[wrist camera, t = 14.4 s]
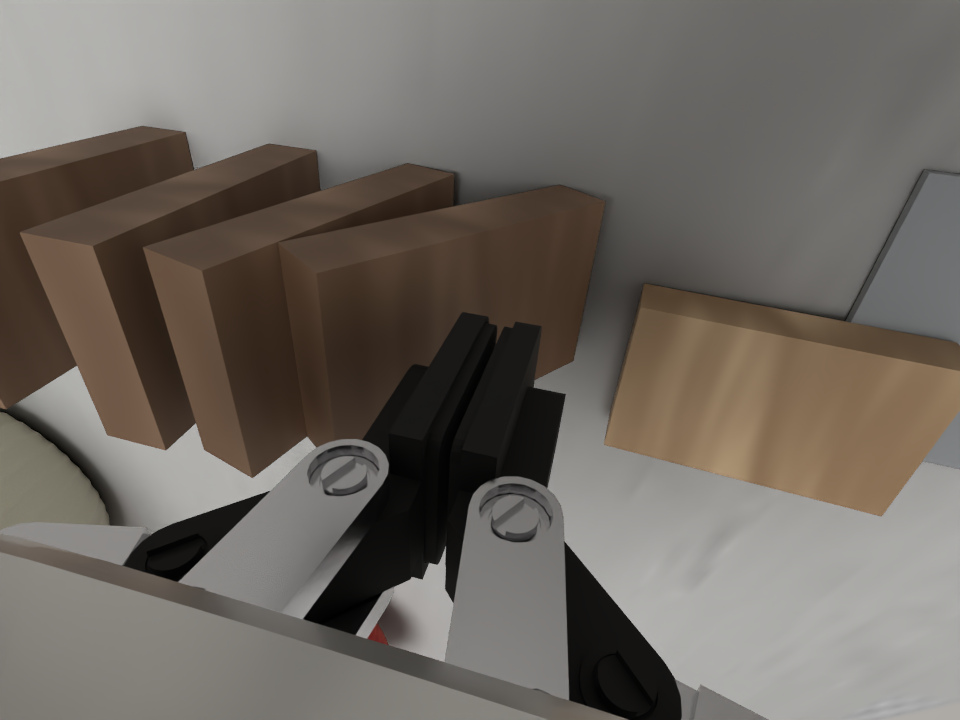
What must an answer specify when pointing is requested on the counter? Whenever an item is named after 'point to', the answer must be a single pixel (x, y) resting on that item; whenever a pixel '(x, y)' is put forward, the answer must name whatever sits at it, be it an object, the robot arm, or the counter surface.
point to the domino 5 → (782, 397)
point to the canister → (42, 481)
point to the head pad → (921, 281)
